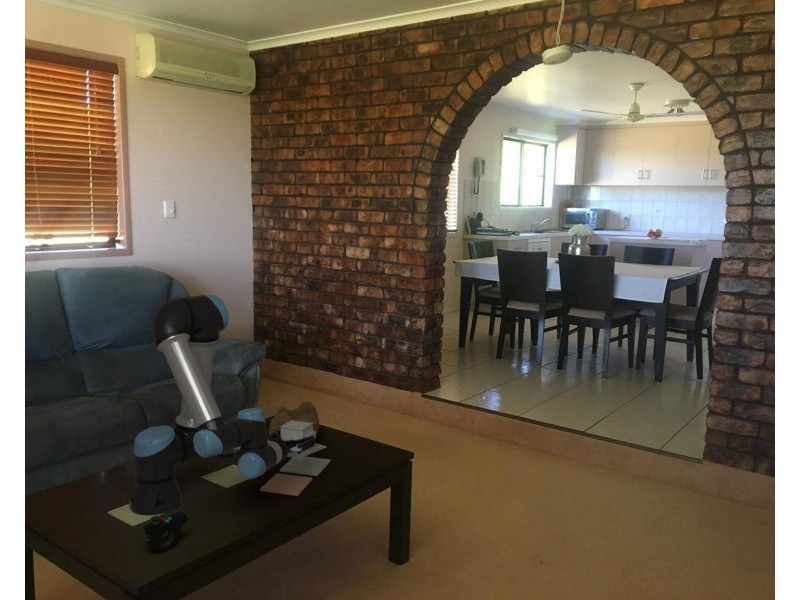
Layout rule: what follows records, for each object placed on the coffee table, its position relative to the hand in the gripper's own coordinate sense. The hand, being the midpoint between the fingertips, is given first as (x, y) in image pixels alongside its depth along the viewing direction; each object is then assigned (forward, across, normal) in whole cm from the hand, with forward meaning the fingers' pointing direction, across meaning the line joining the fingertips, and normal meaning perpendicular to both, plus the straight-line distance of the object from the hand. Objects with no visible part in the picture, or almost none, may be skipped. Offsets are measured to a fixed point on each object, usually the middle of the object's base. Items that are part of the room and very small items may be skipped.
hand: (302, 433), depth 222 cm
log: (+13, -36, -16) cm, 41 cm away
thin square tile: (-7, -2, -16) cm, 18 cm away
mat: (+10, -2, -15) cm, 18 cm away
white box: (-5, 0, -6) cm, 7 cm away
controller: (-54, -15, -20) cm, 59 cm away
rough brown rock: (+30, -14, -14) cm, 36 cm away
